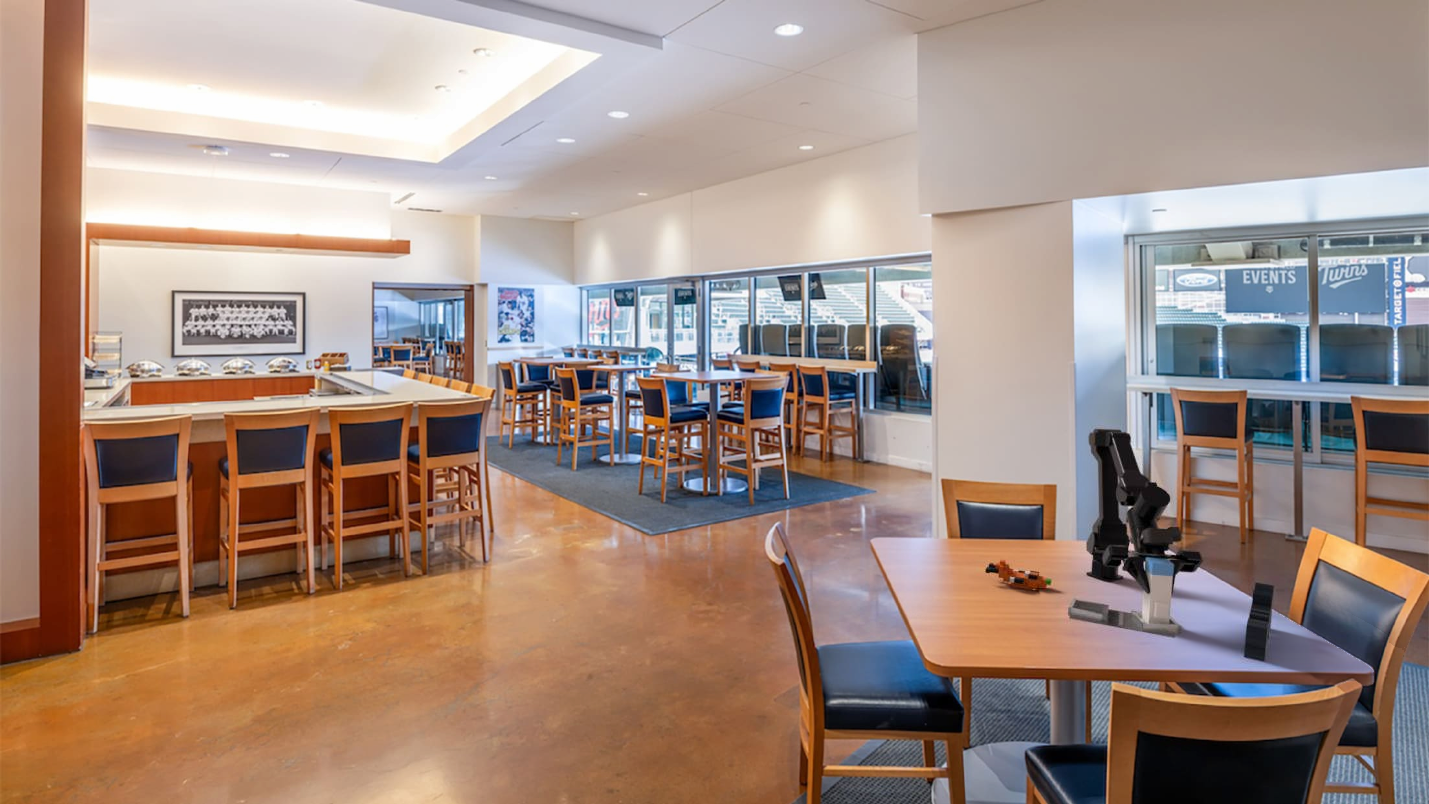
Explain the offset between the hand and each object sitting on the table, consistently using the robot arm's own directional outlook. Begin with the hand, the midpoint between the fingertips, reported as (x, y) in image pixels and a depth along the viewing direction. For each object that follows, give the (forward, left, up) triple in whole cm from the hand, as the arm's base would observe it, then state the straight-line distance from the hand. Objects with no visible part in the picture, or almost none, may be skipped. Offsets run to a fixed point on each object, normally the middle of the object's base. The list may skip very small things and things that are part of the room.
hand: (1159, 593), depth 157 cm
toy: (+4, -33, -8) cm, 34 cm away
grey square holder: (+6, -12, -8) cm, 16 cm away
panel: (+3, -7, -8) cm, 11 cm away
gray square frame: (-1, -1, -8) cm, 8 cm away
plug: (-1, -1, -7) cm, 7 cm away
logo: (-13, +13, -8) cm, 20 cm away
